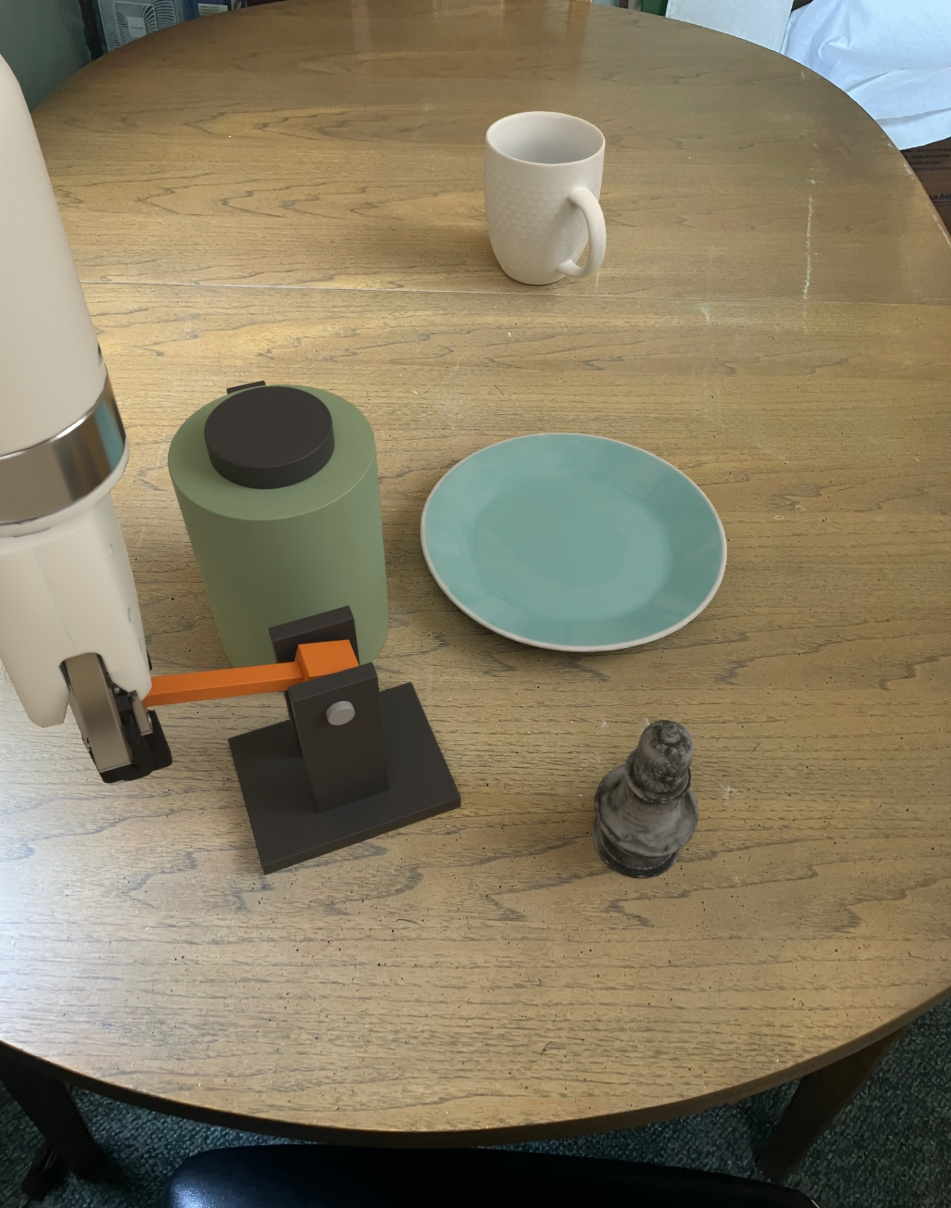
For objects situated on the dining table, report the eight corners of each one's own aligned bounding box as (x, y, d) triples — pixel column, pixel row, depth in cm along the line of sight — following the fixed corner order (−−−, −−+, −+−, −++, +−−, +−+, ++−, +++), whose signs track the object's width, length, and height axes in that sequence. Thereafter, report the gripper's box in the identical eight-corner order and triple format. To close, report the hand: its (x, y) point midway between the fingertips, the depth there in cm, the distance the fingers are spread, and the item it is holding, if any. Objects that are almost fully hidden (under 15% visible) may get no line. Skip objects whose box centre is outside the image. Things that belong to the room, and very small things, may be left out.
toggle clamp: (264, 875, 54) (223, 760, 44) (230, 748, 59) (186, 619, 49) (461, 807, 57) (463, 684, 47) (411, 691, 62) (404, 559, 52)
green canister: (241, 714, 61) (182, 520, 47) (200, 569, 69) (139, 368, 55) (412, 663, 64) (401, 466, 50) (353, 529, 72) (331, 328, 58)
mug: (636, 296, 93) (659, 163, 83) (546, 330, 89) (558, 195, 79) (547, 229, 101) (557, 100, 91) (460, 258, 97) (461, 126, 87)
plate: (483, 427, 80) (484, 400, 77) (745, 498, 75) (754, 471, 73) (369, 617, 66) (367, 591, 64) (680, 718, 61) (688, 693, 59)
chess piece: (582, 874, 54) (610, 768, 45) (591, 785, 58) (617, 669, 49) (686, 891, 54) (734, 786, 45) (687, 799, 58) (732, 685, 48)
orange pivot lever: (115, 754, 44) (117, 723, 42) (100, 672, 47) (101, 640, 45) (359, 720, 50) (369, 691, 48) (333, 649, 53) (341, 619, 51)
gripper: (-112, 317, 37) (33, 615, 51) (-110, 643, 27) (70, 904, 41) (89, 286, 39) (175, 581, 53) (160, 577, 29) (244, 847, 43)
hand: (128, 719), depth 47 cm, fingers closed on orange pivot lever, 5 cm apart
